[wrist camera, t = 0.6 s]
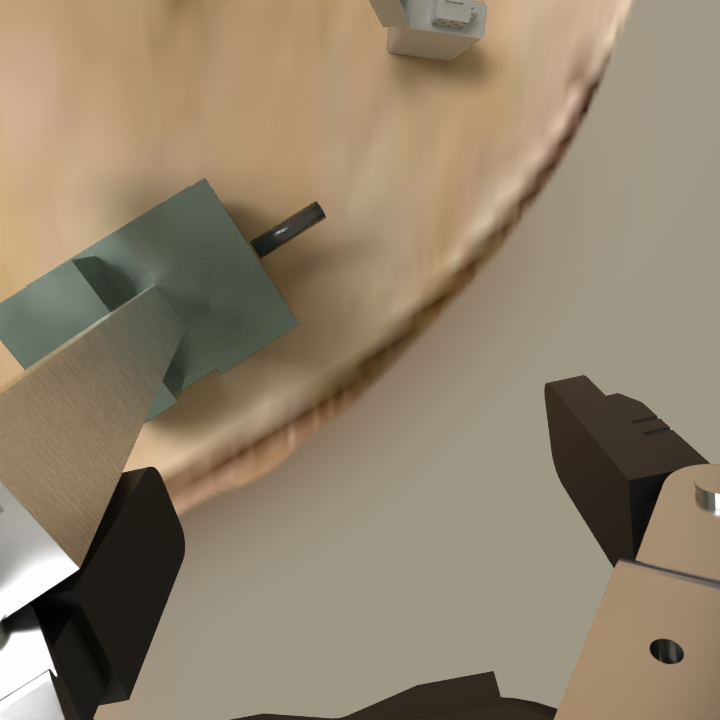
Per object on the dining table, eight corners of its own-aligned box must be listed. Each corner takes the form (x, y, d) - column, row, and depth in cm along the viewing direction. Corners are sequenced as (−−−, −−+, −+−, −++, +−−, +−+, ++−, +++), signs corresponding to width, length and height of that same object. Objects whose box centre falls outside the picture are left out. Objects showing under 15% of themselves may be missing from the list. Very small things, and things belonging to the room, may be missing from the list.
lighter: (456, 30, 35) (521, -28, 27) (453, 61, 35) (517, 14, 27) (338, 12, 33) (371, -55, 25) (336, 45, 33) (369, -11, 26)
